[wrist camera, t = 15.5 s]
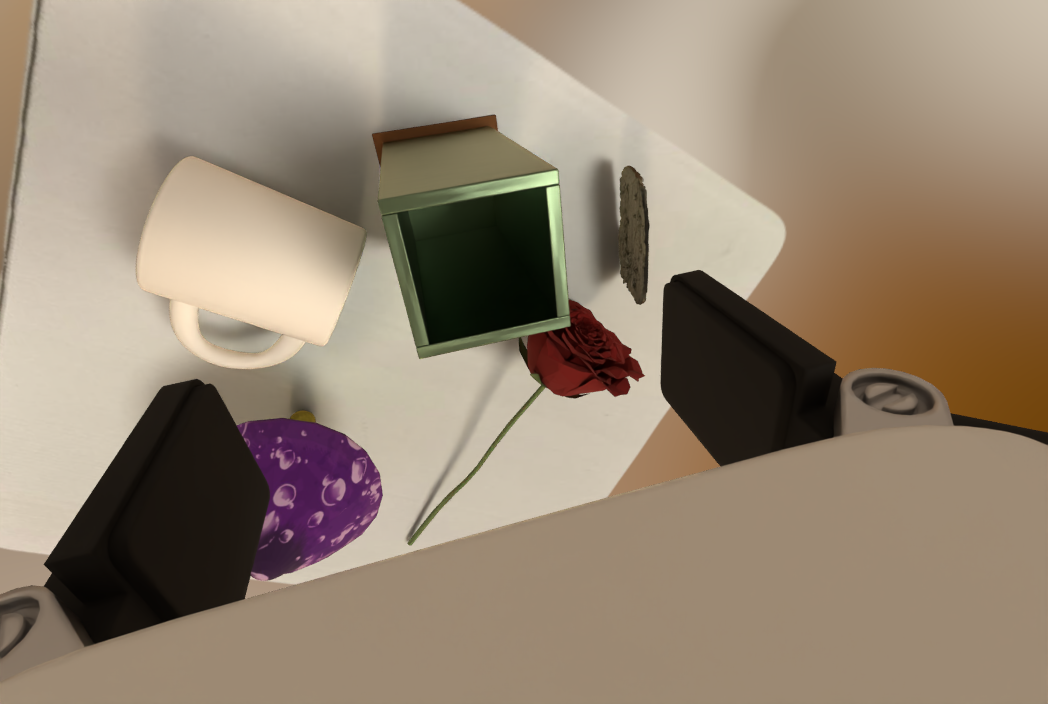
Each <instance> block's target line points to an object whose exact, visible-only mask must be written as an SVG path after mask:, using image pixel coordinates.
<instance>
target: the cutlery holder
mask: <svg viewBox="0 0 1048 704" xmlns="http://www.w3.org/2000/svg"><path fill="white" fill-rule="evenodd" d="M378 205H379V209H380V213H381V215H382V220H383V224H384V228H385V232H386V236H387V239H388V243H389V247H390V251H391V254H392V258H393V262H394V266H395V269H396V273H397V277H398V281H399V285H400V288H401V292H402V296H403V300H404V303H405V307H406V311H407V315H408V318H409V322H410V326H411V330H412V334H413V337H414V341H415V345H416V349H417V353H418V356H419V359H422V358H427V357H431V356H436V355H441V354H445V353H450V352H454V351H459V350H464V349H468V348H473V347H477V346H482V345H487V344H491V343H496V342H501V341H505V340H510V339H514V338H519V337H524V336H528V335H533V334H537V333H542V332H547V331H551V330H556V329H560V328H565V327H570V326H571V323H570V315H569V314H570V311H569V298H568V286H567V273H566V260H565V247H564V235H563V222H562V209H561V196H560V185H559V172H558V169H557V168H555V167H554V166H552V165H551V164H549V163H547V162H546V161H544V160H543V159H541V158H539V157H538V156H536V155H535V154H533V153H531V152H530V151H528V150H527V149H525V148H524V147H522V146H520V145H519V144H517V143H516V142H514V141H512V140H511V139H509V138H508V137H506V136H505V135H503V134H501V133H500V132H498V131H497V130H495V129H493V128H492V127H490V126H486V127H479V128H473V129H467V130H460V131H454V132H448V133H441V134H435V135H429V136H422V137H416V138H409V139H403V140H397V141H390V142H384V143H383V147H382V158H381V169H380V180H379V191H378Z"/></svg>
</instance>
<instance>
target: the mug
mask: <svg viewBox="0 0 1048 704" xmlns="http://www.w3.org/2000/svg"><path fill="white" fill-rule="evenodd" d="M366 237H367V232H366V230H365V229H364V228H362V227H360V226H357V225H355V224H353V223H350V222H348V221H346V220H343V219H341V218H338V217H336V216H334V215H331V214H329V213H327V212H324V211H322V210H320V209H317V208H315V207H313V206H310V205H308V204H305V203H303V202H301V201H298V200H296V199H294V198H291V197H289V196H287V195H284V194H282V193H279V192H277V191H275V190H272V189H270V188H268V187H265V186H263V185H261V184H258V183H256V182H254V181H251V180H249V179H246V178H244V177H242V176H239V175H237V174H235V173H232V172H230V171H228V170H225V169H223V168H221V167H218V166H216V165H213V164H211V163H209V162H206V161H204V160H202V159H199V158H197V157H193V156H190V157H186V158H184V159H182V160H181V161H180V162H178V163H177V164H176V165H175V167H174V168H173V169H172V170H171V171H170V173H169V174H168V176H167V177H166V179H165V180H164V182H163V184H162V186H161V187H160V189H159V191H158V193H157V195H156V197H155V199H154V202H153V204H152V206H151V209H150V211H149V214H148V216H147V219H146V222H145V225H144V228H143V231H142V235H141V239H140V243H139V247H138V253H137V259H136V278H137V282H138V284H139V286H140V287H141V288H142V289H143V290H144V291H147V292H150V293H153V294H156V295H160V296H163V297H166V298H169V299H170V308H169V313H170V321H171V325H172V328H173V331H174V333H175V335H176V336H177V338H178V340H179V341H180V342H181V343H182V344H183V346H184V347H185V348H186V349H188V350H189V351H190V352H191V353H193V354H194V355H196V356H197V357H199V358H201V359H202V360H204V361H206V362H209V363H211V364H214V365H218V366H221V367H226V368H233V369H257V368H264V367H269V366H273V365H277V364H279V363H282V362H284V361H286V360H288V359H289V358H291V357H292V356H294V355H295V354H296V353H297V352H298V351H299V350H300V349H301V348H302V346H303V345H304V343H305V342H308V343H311V344H315V345H318V346H324V345H325V344H326V343H327V342H328V340H329V338H330V336H331V334H332V332H333V330H334V328H335V325H336V323H337V321H338V318H339V316H340V313H341V311H342V309H343V306H344V303H345V301H346V298H347V296H348V293H349V290H350V288H351V285H352V282H353V279H354V276H355V274H356V271H357V268H358V265H359V262H360V259H361V256H362V252H363V249H364V245H365V242H366ZM199 308H201V309H204V310H207V311H210V312H213V313H217V314H220V315H223V316H226V317H229V318H232V319H236V320H239V321H242V322H245V323H248V324H251V325H255V326H258V327H261V328H264V329H267V330H270V331H273V332H277V333H280V334H282V335H281V336H280V338H279V339H278V340H277V341H276V343H275V344H274V345H273V346H271V347H270V348H269V349H267V350H266V351H263V352H260V353H244V352H237V351H233V350H228V349H225V348H221V347H218V346H216V345H214V344H212V343H210V342H208V341H207V340H206V339H205V338H204V337H203V336H202V334H201V332H200V329H199V324H198V310H199Z"/></svg>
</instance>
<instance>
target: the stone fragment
mask: <svg viewBox="0 0 1048 704" xmlns="http://www.w3.org/2000/svg"><path fill="white" fill-rule="evenodd" d="M621 175H622V177H621V178H620V198H621V201H620V216H621V220H620V227H619V259H620V265H621V270H620V274H621V277H622V278H623V283H627V288H628V290H629V291H630V292H631V294H632V296H633V297H634V300H635V301H636V304H639V305H641V304H642V303H644V302H645V301H646V293H647V284H648V252H649V244H648V236H649V235H648V232H649V220H648V208H647V191H646V189H645V186H643V185H644V184H643V183H642V182H643V180H642V179H643V178H642V177H641V176H640V174H639V173H638V172H636V170H635V168H633V167H632V166H627V167H625V168H624V169H623V171H622V173H621Z"/></svg>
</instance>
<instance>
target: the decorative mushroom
mask: <svg viewBox="0 0 1048 704" xmlns="http://www.w3.org/2000/svg"><path fill="white" fill-rule="evenodd" d="M315 422H316V420H315V417H314V415H313V414H312V413H310V412H308V411H303V410H302V411H297V412H295V413H294V414H293V415H292V416H291V417H290V419H286V418H277V419H267V420H257V421H248V422H245V423H242V424H239V425H237V427H238V429H239V431H240V433H241V435H242V436H243V438H244V440H245V442H246V444H247V446H248V447H249V449H250V451H251V453H252V455H253V457H254V458H255V460H256V462H257V464H258V466H259V468H260V469H261V471H262V473H263V475H264V477H265V479H266V480H267V483H268V485H269V490H270V500H269V504H268V508H267V512H266V516H265V520H264V524H263V528H262V532H261V536H260V540H259V544H258V548H257V552H256V556H255V560H254V564H253V568H252V572H251V576H252V577H253V578H255V579H257V580H261V581H267V580H272V579H274V578H277V577H279V576H281V575H283V574H287V573H292V572H294V571H297V570H299V569H302V568H304V567H307V566H309V565H312V564H314V563H317V562H319V561H321V560H323V559H325V558H327V557H329V556H330V555H332V554H333V553H335V552H337V551H338V550H340V549H341V548H343V547H344V546H346V545H347V544H349V543H350V542H352V541H353V540H354V539H356V538H357V537H359V536H360V535H362V534H363V533H364V531H365V530H366V529H367V527H368V526H369V525H370V524H371V522H372V521H373V520H374V519H375V517H376V516H377V513H378V509H379V506H380V503H381V499H382V496H383V494H382V486H381V479H380V473H379V472H378V470H377V468H376V467H375V465H374V463H373V462H372V460H371V459H370V457H369V455H368V454H367V452H366V451H365V450H364V449H363V448H361V447H360V446H359V445H358V444H356V443H355V442H354V441H353V440H351V439H350V438H349V437H347V436H346V435H345V434H343V433H340V432H338V431H335V430H333V429H330V428H328V427H325V426H323V425H320V424H318V423H315Z"/></svg>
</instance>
